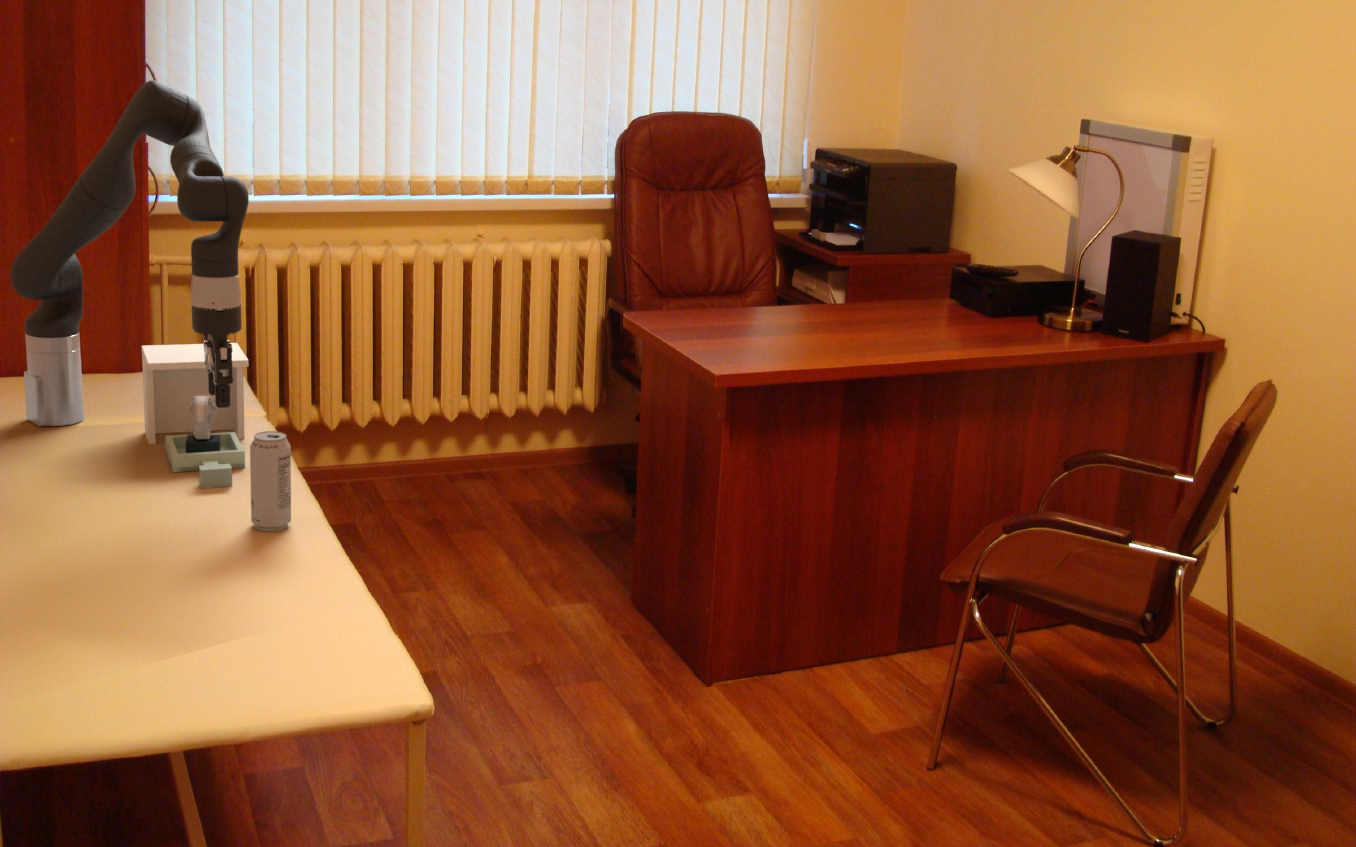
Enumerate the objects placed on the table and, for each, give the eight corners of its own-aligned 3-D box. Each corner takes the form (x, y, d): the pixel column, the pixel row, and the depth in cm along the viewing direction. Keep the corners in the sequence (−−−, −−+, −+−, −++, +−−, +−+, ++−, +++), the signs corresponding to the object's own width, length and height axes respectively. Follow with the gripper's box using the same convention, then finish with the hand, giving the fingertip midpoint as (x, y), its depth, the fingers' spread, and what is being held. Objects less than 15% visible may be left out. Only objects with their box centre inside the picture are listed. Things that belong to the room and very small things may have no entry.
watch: (221, 447, 234) (220, 390, 231) (218, 461, 227) (216, 402, 224) (189, 448, 233) (187, 390, 230) (184, 461, 225) (182, 402, 222)
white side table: (249, 448, 238) (248, 360, 233) (151, 454, 230) (148, 363, 226) (238, 427, 250) (237, 343, 245) (145, 432, 242) (141, 345, 237)
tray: (253, 484, 219) (253, 466, 218) (179, 489, 214) (178, 471, 213) (235, 447, 238) (234, 430, 237) (166, 451, 232) (165, 434, 231)
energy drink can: (260, 517, 205) (259, 428, 201) (297, 521, 205) (296, 432, 200) (245, 530, 199) (243, 439, 195) (282, 534, 199) (281, 443, 195)
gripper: (186, 294, 209) (189, 391, 213) (197, 311, 197) (200, 413, 201) (234, 293, 212) (236, 388, 217) (247, 310, 200) (250, 410, 204)
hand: (219, 400), depth 209 cm, fingers open, 7 cm apart
